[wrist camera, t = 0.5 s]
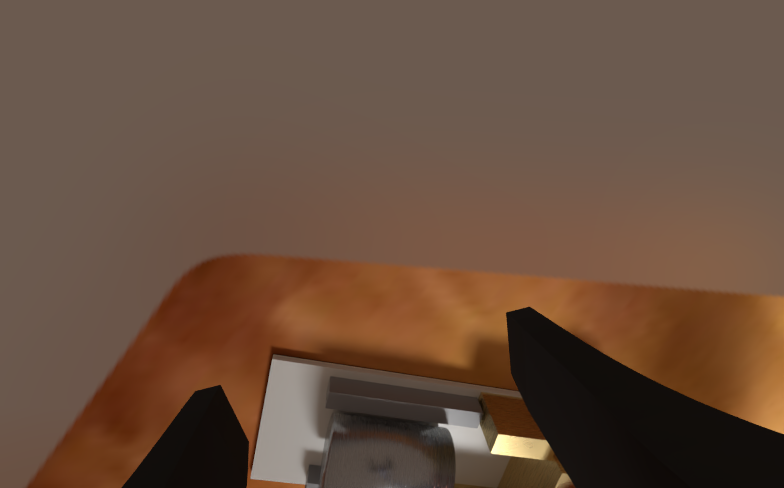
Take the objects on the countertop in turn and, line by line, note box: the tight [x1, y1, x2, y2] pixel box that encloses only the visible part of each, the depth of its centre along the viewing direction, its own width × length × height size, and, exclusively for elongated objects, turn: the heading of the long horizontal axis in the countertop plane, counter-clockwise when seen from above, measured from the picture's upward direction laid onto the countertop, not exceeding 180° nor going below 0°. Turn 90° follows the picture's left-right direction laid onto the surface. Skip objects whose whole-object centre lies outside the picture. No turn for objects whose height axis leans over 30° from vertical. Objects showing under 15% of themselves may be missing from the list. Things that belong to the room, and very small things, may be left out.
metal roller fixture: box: [250, 354, 522, 488], centre depth 24 cm, size 8×19×2 cm, turn 76°
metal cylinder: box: [318, 413, 456, 488], centre depth 22 cm, size 4×6×4 cm, turn 76°
